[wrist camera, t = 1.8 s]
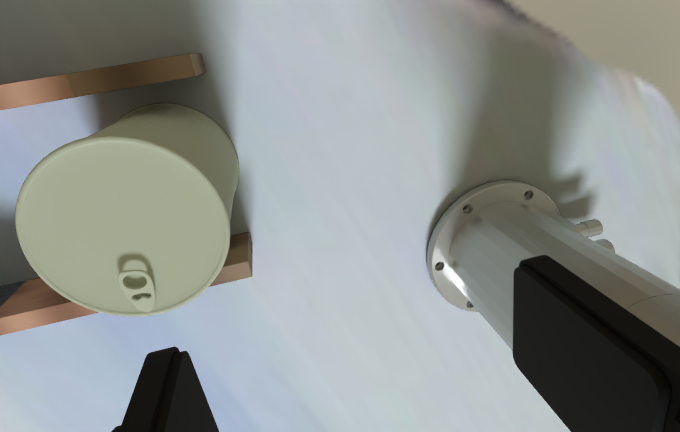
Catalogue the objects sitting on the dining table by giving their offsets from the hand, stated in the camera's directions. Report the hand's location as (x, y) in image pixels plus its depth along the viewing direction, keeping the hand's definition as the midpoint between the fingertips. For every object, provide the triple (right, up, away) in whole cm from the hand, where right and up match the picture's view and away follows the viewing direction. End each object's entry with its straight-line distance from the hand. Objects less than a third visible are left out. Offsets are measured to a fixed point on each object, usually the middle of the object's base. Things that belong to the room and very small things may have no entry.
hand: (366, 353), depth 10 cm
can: (-13, +7, +20) cm, 25 cm away
